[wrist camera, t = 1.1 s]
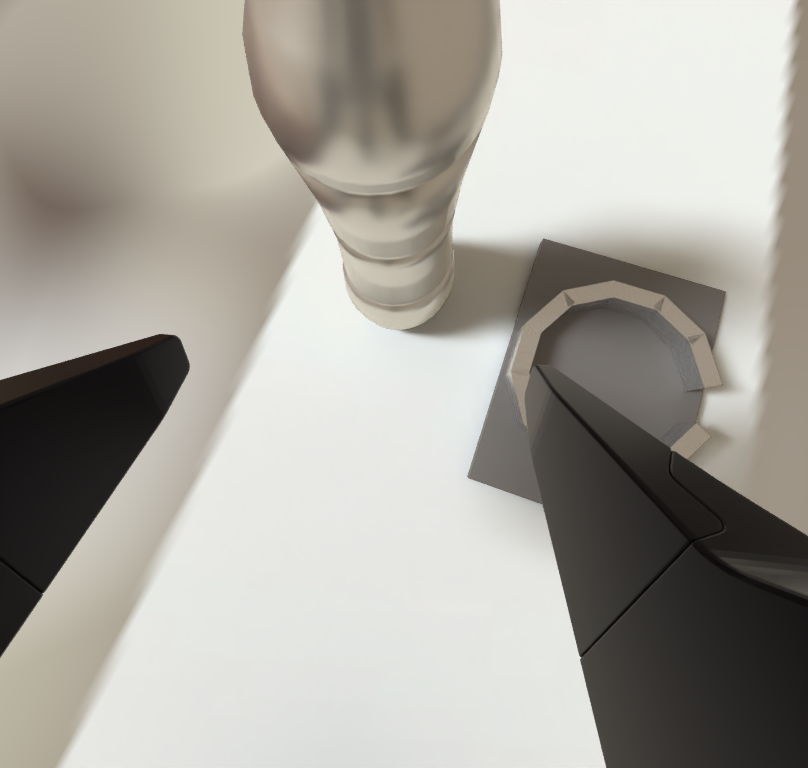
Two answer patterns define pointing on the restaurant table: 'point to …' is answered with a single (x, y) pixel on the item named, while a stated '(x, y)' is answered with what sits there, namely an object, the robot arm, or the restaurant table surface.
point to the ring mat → (594, 358)
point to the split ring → (637, 303)
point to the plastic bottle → (380, 129)
